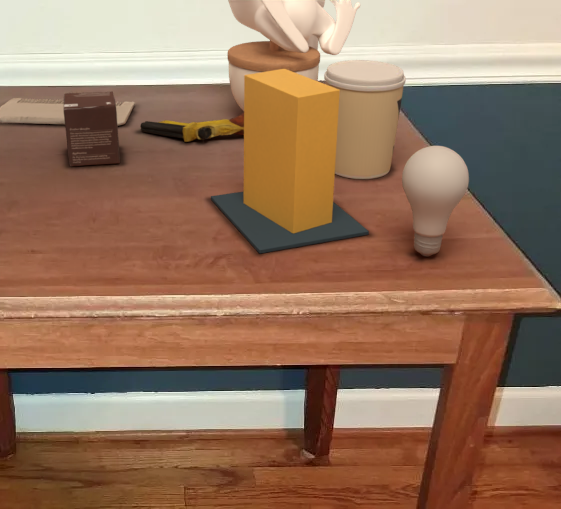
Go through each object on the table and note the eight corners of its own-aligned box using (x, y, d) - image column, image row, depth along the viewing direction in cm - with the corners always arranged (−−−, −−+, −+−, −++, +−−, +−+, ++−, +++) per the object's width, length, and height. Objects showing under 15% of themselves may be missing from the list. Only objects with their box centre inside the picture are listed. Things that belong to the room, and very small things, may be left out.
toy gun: (277, 133, 112) (235, 156, 105) (186, 120, 120) (141, 140, 112) (276, 107, 111) (233, 129, 103) (184, 96, 118) (138, 115, 110)
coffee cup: (412, 175, 100) (422, 75, 95) (344, 186, 97) (351, 83, 91) (370, 150, 108) (378, 56, 102) (306, 160, 104) (310, 63, 99)
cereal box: (293, 233, 84) (298, 97, 78) (243, 203, 91) (244, 75, 84) (331, 222, 87) (340, 89, 81) (280, 193, 93) (284, 68, 87)
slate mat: (259, 253, 81) (259, 250, 81) (210, 199, 92) (210, 196, 92) (368, 234, 86) (369, 231, 85) (309, 185, 97) (309, 181, 97)
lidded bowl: (269, 97, 126) (270, 23, 121) (335, 116, 119) (340, 38, 114) (208, 115, 118) (207, 36, 113) (276, 137, 111) (278, 53, 106)
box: (118, 147, 106) (114, 90, 103) (120, 165, 101) (116, 105, 98) (68, 150, 105) (63, 92, 102) (68, 167, 100) (62, 107, 96)
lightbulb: (465, 250, 83) (480, 144, 78) (446, 275, 78) (461, 164, 73) (406, 236, 85) (418, 132, 80) (385, 260, 81) (395, 151, 76)
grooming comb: (10, 96, 122) (11, 101, 122) (-14, 118, 113) (-13, 123, 113) (137, 99, 121) (137, 105, 122) (122, 122, 112) (122, 127, 113)
